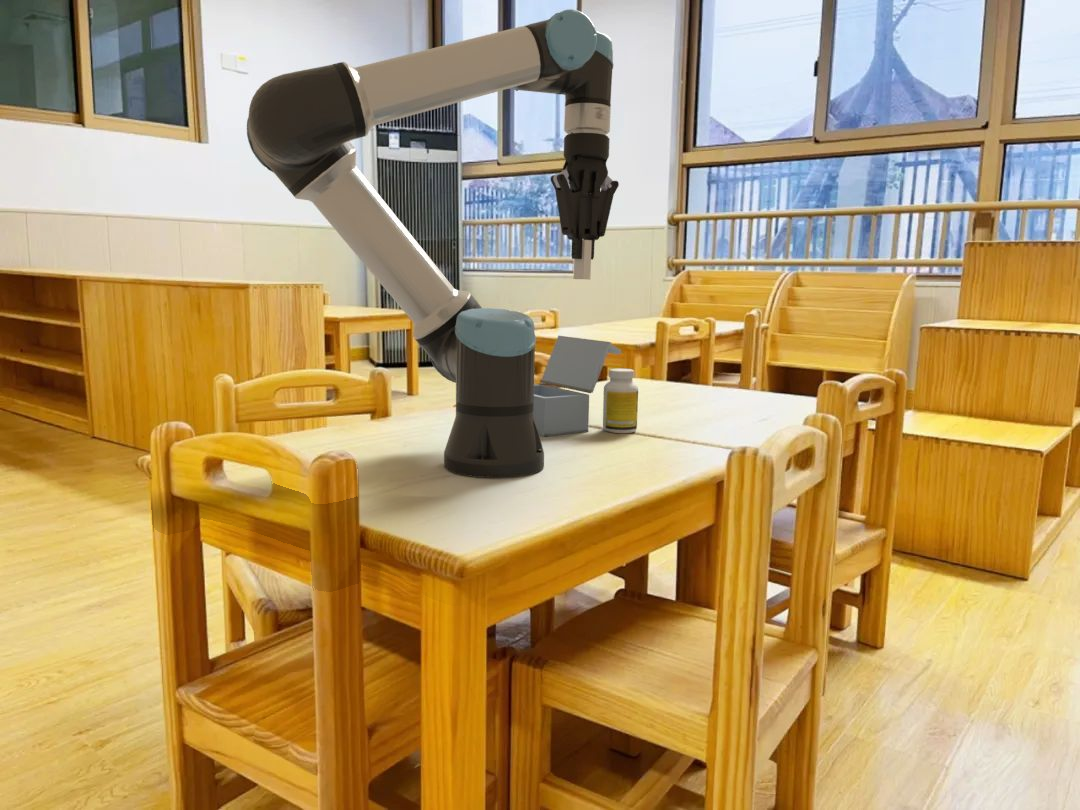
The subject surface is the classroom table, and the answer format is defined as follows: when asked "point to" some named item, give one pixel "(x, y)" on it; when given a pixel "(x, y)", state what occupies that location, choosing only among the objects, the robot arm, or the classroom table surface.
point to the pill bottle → (620, 402)
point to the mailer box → (560, 411)
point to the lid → (577, 363)
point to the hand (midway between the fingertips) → (581, 279)
